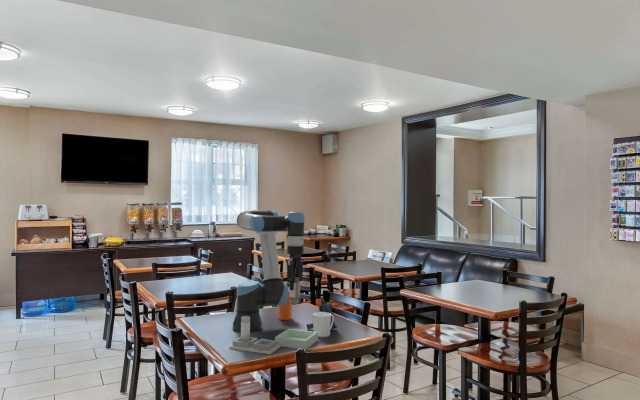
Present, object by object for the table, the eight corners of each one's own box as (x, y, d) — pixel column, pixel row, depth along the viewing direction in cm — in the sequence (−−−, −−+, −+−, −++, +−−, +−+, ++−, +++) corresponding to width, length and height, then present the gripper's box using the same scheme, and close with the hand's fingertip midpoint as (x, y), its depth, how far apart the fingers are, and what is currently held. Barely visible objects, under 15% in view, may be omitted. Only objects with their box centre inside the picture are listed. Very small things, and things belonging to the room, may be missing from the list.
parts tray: (274, 345, 191) (274, 337, 191) (288, 336, 205) (288, 328, 205) (305, 349, 186) (305, 341, 186) (317, 340, 200) (317, 332, 200)
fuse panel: (229, 348, 186) (229, 341, 186) (241, 341, 195) (241, 335, 195) (269, 354, 179) (270, 347, 179) (280, 347, 188) (280, 340, 188)
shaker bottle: (284, 315, 246) (284, 281, 246) (296, 318, 240) (296, 282, 241) (273, 318, 238) (274, 283, 239) (285, 321, 233) (286, 284, 234)
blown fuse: (288, 303, 194) (289, 277, 194) (292, 302, 197) (293, 276, 198) (296, 304, 192) (296, 278, 192) (300, 303, 196) (300, 276, 196)
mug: (316, 338, 202) (317, 316, 203) (309, 333, 211) (310, 312, 211) (337, 336, 207) (337, 315, 207) (329, 331, 215) (330, 311, 215)
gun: (301, 301, 219) (329, 294, 219) (309, 333, 219) (337, 326, 219) (300, 303, 217) (329, 295, 217) (308, 335, 216) (337, 327, 216)
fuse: (238, 344, 188) (239, 317, 188) (243, 342, 192) (244, 315, 192) (246, 346, 186) (247, 318, 187) (251, 343, 190) (251, 316, 190)
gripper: (294, 246, 186) (293, 300, 185) (310, 244, 202) (309, 293, 201) (279, 246, 189) (278, 298, 188) (296, 243, 205) (295, 292, 204)
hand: (294, 296), depth 195 cm, fingers closed on blown fuse, 4 cm apart
